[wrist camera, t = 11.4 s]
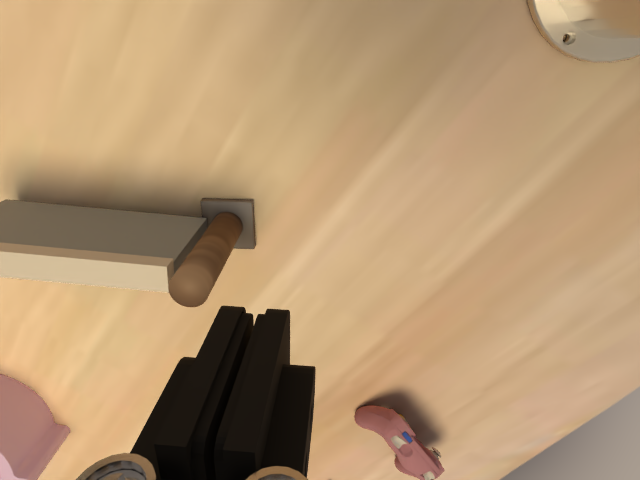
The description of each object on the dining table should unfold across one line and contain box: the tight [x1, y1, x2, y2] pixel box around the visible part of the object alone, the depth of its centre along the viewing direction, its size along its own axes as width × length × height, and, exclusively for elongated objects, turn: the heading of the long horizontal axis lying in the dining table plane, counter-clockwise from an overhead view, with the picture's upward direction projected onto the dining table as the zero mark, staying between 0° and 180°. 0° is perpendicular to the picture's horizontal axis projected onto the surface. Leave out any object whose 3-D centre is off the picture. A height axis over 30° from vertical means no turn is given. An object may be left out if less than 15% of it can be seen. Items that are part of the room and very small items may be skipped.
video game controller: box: [354, 405, 444, 480], centre depth 45 cm, size 10×5×7 cm, turn 35°
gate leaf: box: [0, 200, 207, 293], centre depth 33 cm, size 17×2×9 cm, turn 85°
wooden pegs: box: [168, 198, 256, 307], centre depth 37 cm, size 25×4×12 cm, turn 179°
